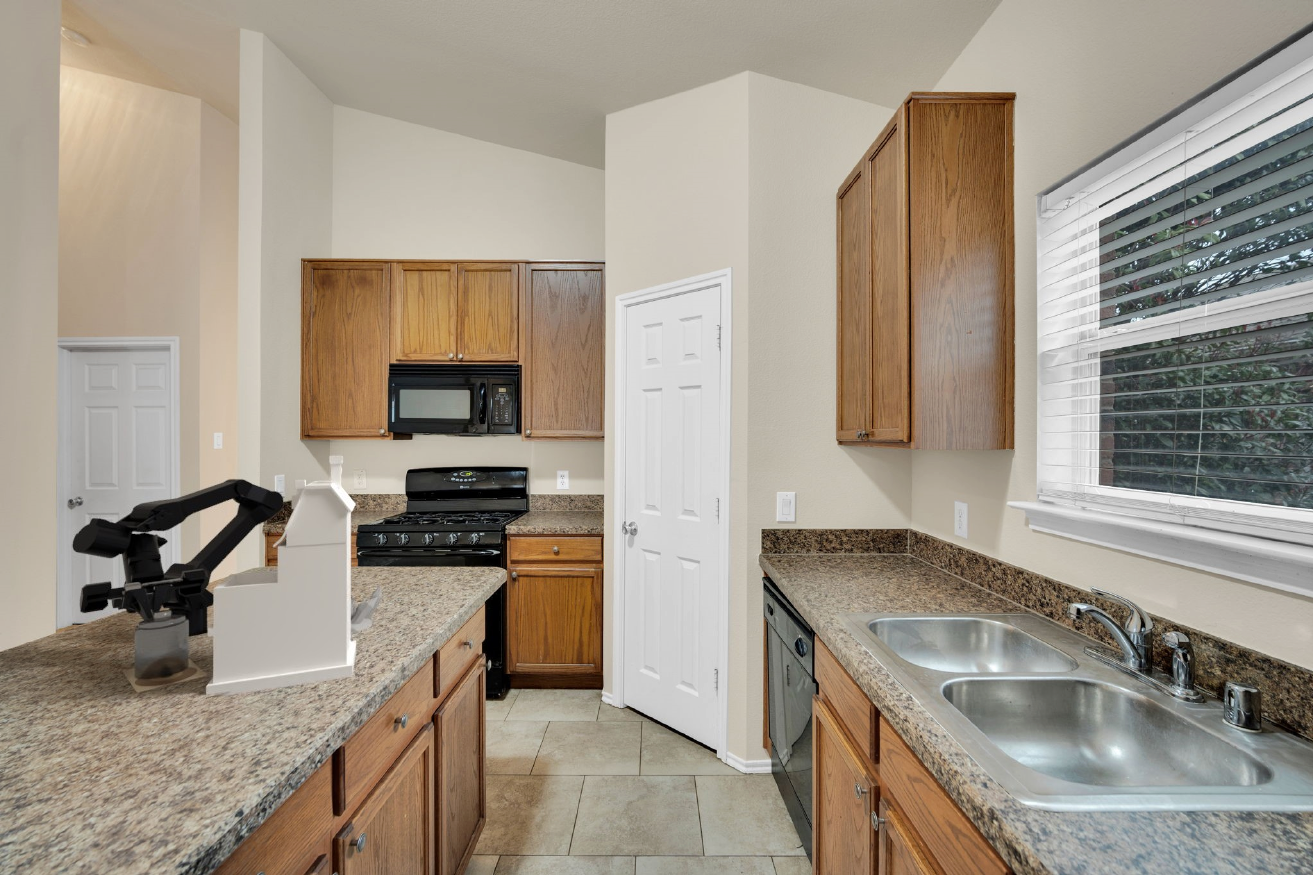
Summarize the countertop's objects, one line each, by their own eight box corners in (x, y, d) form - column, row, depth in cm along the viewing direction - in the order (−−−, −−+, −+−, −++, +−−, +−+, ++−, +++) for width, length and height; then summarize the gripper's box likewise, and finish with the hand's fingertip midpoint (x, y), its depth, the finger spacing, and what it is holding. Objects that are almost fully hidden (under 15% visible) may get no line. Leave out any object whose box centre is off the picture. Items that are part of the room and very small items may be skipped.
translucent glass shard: (387, 626, 136) (387, 561, 136) (322, 637, 128) (322, 568, 128) (377, 616, 144) (377, 554, 144) (315, 626, 136) (315, 561, 136)
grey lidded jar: (183, 660, 113) (183, 603, 113) (193, 669, 108) (193, 610, 108) (130, 671, 107) (131, 612, 108) (138, 682, 103) (139, 620, 103)
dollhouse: (356, 649, 121) (356, 454, 121) (352, 676, 107) (352, 456, 107) (228, 666, 112) (228, 456, 112) (206, 698, 98) (206, 457, 98)
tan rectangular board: (187, 659, 115) (187, 656, 115) (206, 678, 106) (206, 674, 106) (122, 674, 108) (122, 670, 108) (137, 696, 99) (137, 692, 99)
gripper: (192, 576, 130) (205, 636, 123) (74, 592, 116) (81, 662, 109) (201, 544, 125) (216, 606, 118) (79, 558, 111) (87, 629, 104)
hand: (153, 626), depth 112 cm, fingers closed
